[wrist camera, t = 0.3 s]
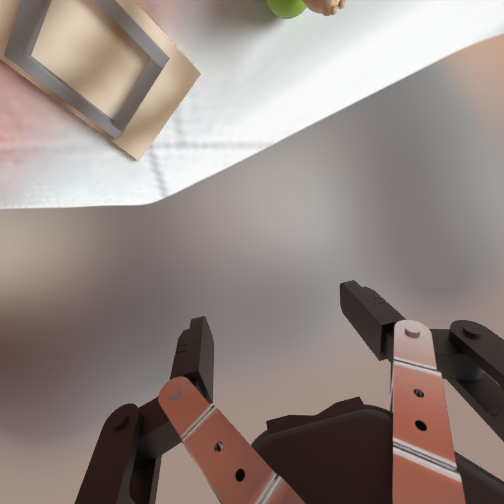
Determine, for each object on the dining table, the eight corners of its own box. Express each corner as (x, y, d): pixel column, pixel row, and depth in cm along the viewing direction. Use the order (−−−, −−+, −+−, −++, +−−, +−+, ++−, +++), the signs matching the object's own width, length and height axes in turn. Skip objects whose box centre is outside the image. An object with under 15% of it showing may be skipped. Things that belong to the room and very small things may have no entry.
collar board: (-22, 36, 24) (-44, 34, 22) (21, -127, 19) (-2, -150, 17) (141, 158, 33) (136, 164, 31) (200, 73, 28) (199, 74, 26)
